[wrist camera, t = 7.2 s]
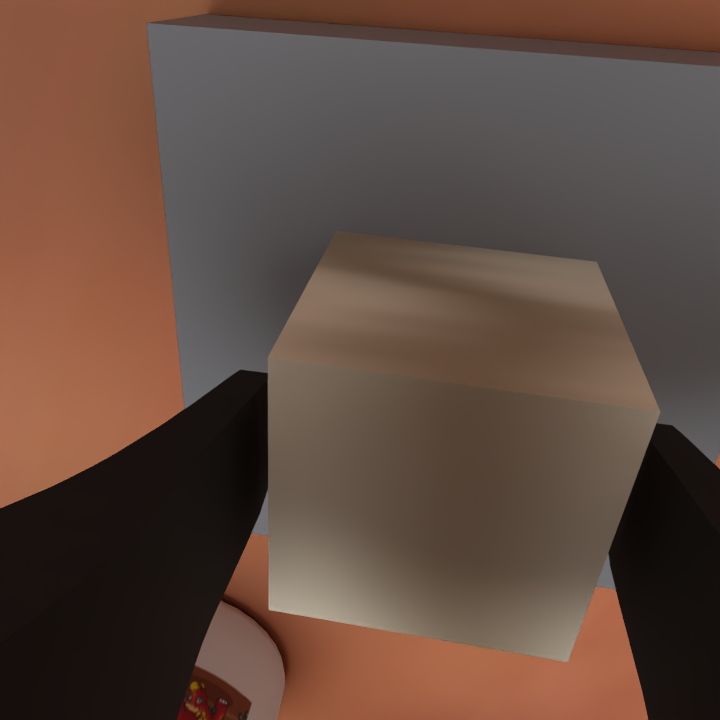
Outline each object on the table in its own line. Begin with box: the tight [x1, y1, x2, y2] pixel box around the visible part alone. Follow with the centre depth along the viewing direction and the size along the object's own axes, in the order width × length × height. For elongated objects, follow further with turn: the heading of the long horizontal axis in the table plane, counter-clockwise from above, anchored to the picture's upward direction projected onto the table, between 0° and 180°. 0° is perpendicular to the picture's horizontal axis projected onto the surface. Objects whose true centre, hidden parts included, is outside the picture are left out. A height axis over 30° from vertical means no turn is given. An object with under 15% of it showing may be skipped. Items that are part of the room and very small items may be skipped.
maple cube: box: [268, 231, 660, 662], centre depth 12 cm, size 5×5×5 cm
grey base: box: [147, 14, 720, 589], centre depth 15 cm, size 12×12×3 cm
